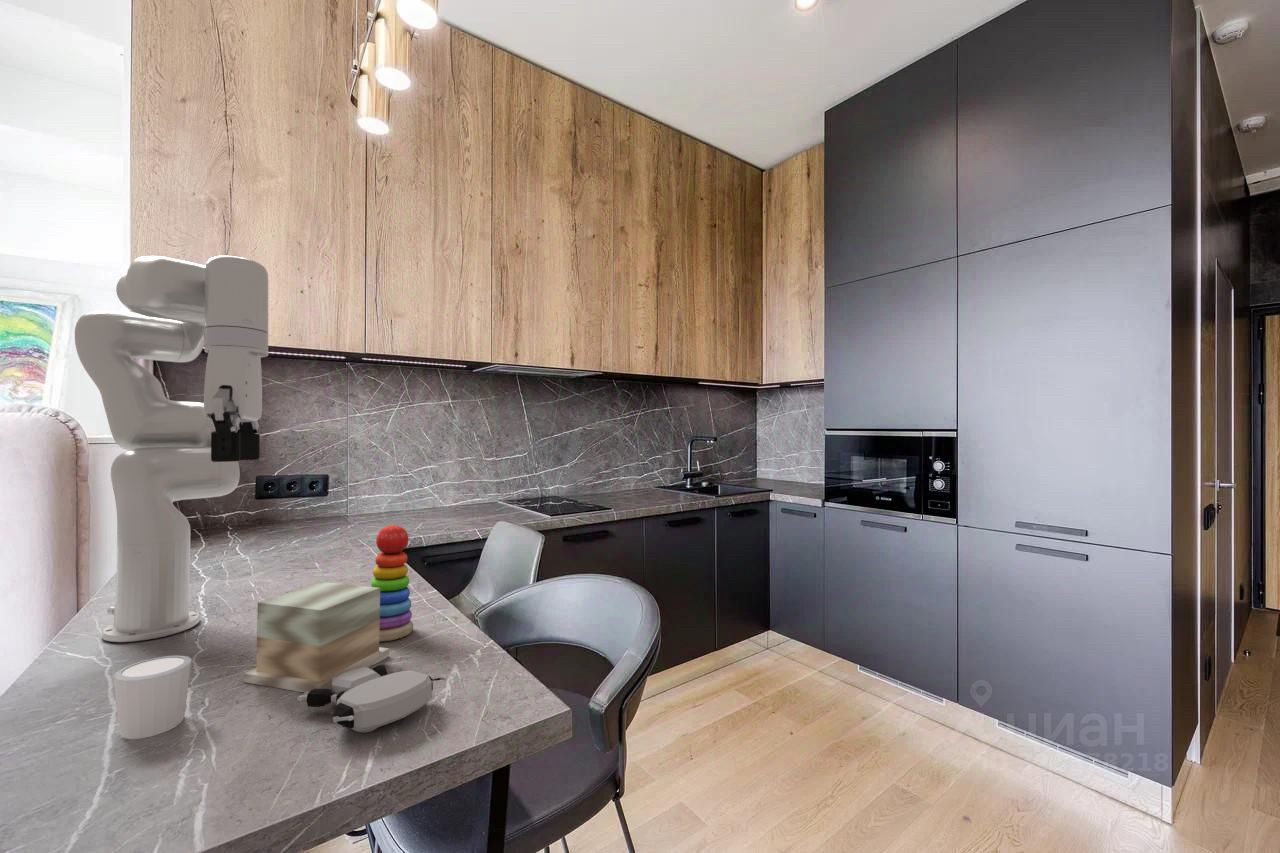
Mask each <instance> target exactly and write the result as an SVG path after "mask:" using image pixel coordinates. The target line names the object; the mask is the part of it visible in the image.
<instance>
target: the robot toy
mask: <svg viewBox="0 0 1280 853" xmlns="http://www.w3.org/2000/svg"><path fill="white" fill-rule="evenodd" d="M447 678H448V677H447V676H446V675H444V676H440V677H433V678H432V677H431V676H430V675H428V674H426V673H422V672H420V671H419V672H418V671H416V670H412V669H411V670H402V671H401V670H400V671H397V672H393V673H389V674H388V670H387V667H386V665H384V664H379V665H376V666H374V667H372V668H371V667H369V668H368V667H363V668H357V669H354V670H350V671H347V672H345V673H342V674H340V675H339V676H338V677H337V676H335V677H334V678H332V688H331V689H313V690H311V691H310V692H306V693H304V692H303V693H302V694H301V695H299V696H297V697H296V698H297V699H296V701H297V703H299V704H304V703H306V704H307V705H306V706H307V707H308V708H309V707H311V708H313V707H314V708H322V707H325V706H327V705H329V704H330V703H332V704H334V705H335V706H334V707H333V717H332V720H333V723H334V724H337V725H339V726H342V727H344V728H346V729H351V730H353V731H355V732H359V733H363V734H365V733H370V732H373V731H375V730H376V729H378V728H379V727H382V726H386V725H388V724H391V723H393V722H396V721H398V720H401V719H403V718H406V717H407V716H410V715H412V714H413V713H416V711H418V710H420V709H421V708H422V707H424V706H425V705H427V703H428V702H429V701H430V700H431V699H432V697H433V690H434V683H433V682H437V681H445V680H447Z"/></svg>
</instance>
